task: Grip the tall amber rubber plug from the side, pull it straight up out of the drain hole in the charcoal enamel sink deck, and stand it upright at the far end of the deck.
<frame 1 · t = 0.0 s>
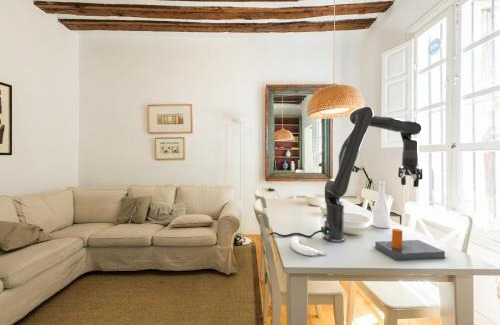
hand: (409, 185, 129), 29 cm above the table, tool pointing down, fingers open, 8 cm apart
plug: (396, 252, 107), resting in sink deck
banana: (305, 249, 111), on the table
sink deck: (408, 252, 108), on the table
wine bottle: (380, 226, 148), on the table
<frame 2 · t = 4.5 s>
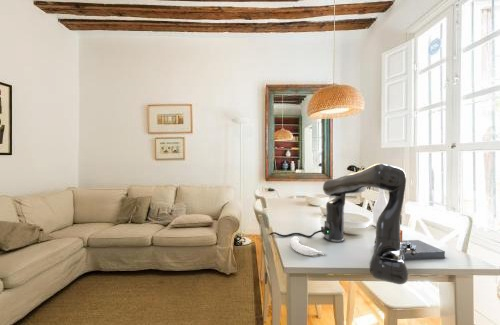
hand: (395, 240, 98), 9 cm above the table, tool horizontal, fingers open, 8 cm apart
nothing on the table moved.
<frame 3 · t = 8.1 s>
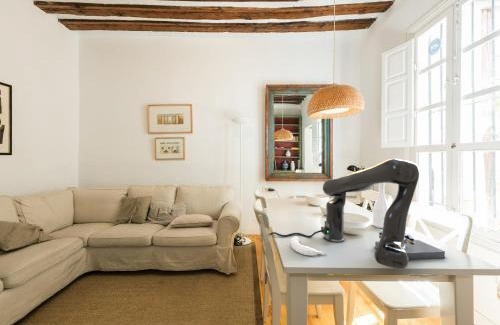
hand: (397, 232, 109), 9 cm above the table, tool horizontal, fingers closed on plug, 4 cm apart
plug: (396, 252, 107), resting in sink deck, touching gripper
everything else where it was.
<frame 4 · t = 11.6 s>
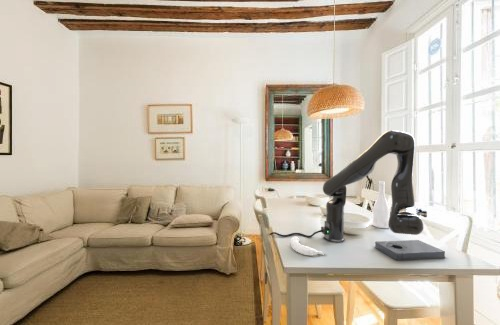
hand: (409, 208, 109), 21 cm above the table, tool horizontal, fingers closed on plug, 4 cm apart
plug: (408, 227, 107), point 12 cm above the table, touching gripper
everything else where it was.
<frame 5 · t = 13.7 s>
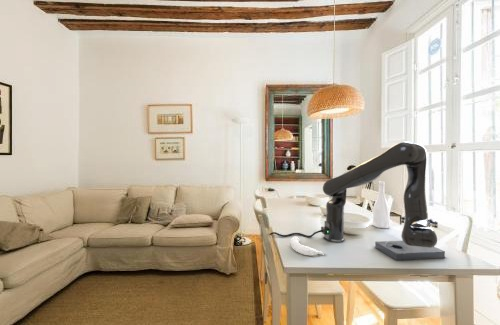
hand: (418, 217, 110), 16 cm above the table, tool horizontal, fingers closed on plug, 4 cm apart
plug: (418, 237, 108), point 7 cm above the table, touching gripper
everything else where it was.
when the fingers open (12 cm above the table, at t = 15.2 s): plug stays where it is, resting on sink deck.
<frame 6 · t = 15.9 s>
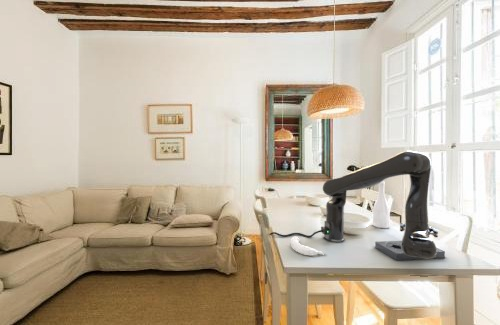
hand: (418, 225, 109), 12 cm above the table, tool horizontal, fingers open, 8 cm apart
plug: (418, 245, 108), point 3 cm above the table, touching sink deck
everything else where it was.
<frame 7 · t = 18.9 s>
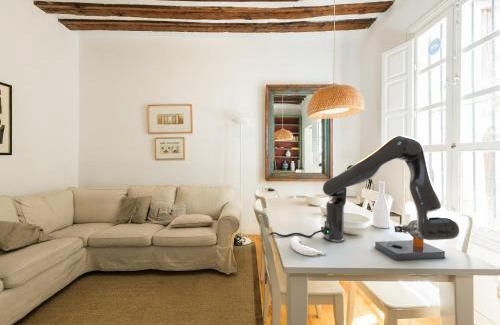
hand: (410, 229, 102), 13 cm above the table, tool tilted 70°, fingers open, 8 cm apart
nothing on the table moved.
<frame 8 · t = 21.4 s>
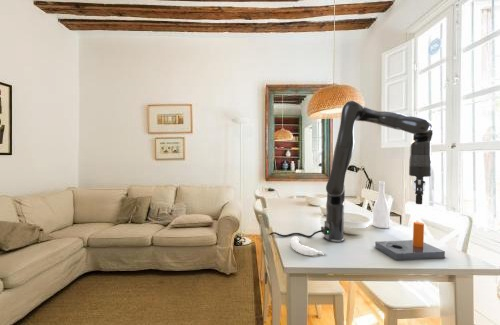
hand: (418, 202, 97), 26 cm above the table, tool pointing down, fingers open, 8 cm apart
nothing on the table moved.
at the end: plug inside the target area on the sink deck (1.0 cm from its centre), point 3.0 cm above the sink deck's base; plug tilted 0°; the gripper is holding nothing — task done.
